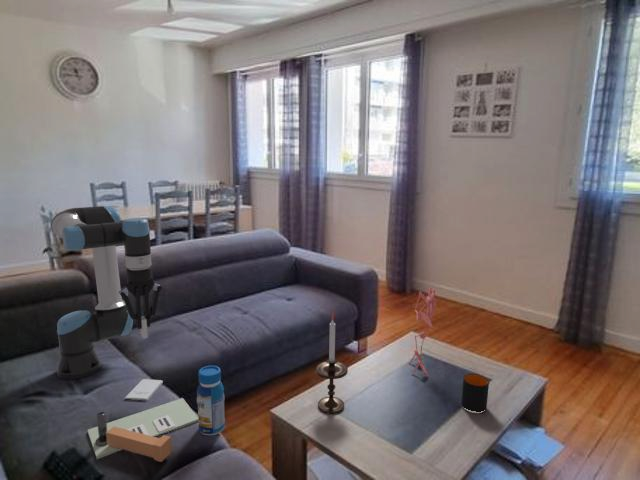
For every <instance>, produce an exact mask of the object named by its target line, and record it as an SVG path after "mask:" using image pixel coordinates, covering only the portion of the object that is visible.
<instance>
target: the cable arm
mask: <svg viewBox="0 0 640 480" xmlns="http://www.w3.org/2000/svg"><path fill="white" fill-rule="evenodd" d="M106 437H107V445H110V446H114V447H118V448H121V449H123V450H125V451H129V452H132V453H135V454H140V455H143V456H148V457H149V458H153V459H154V461H157V462H160V463H162V462H163V461H164V460H165V459H166V458H167V457H168V456H170V454H171V453H172V451H173V450H172V437H171V436H170V435H169V436H168V435H166V434H163V435H161V436H160V437H153V436H149V435H145V434H141V433H137V432H134V431H130V430H126V429H122V428H118V427H112V428H111V429H110V430H109V431H107V432H106Z"/></svg>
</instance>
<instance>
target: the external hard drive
mask: <svg viewBox="0 0 640 480" xmlns="http://www.w3.org/2000/svg"><path fill="white" fill-rule="evenodd" d="M163 382H164V381H163V380H161V379H147V378H146V379H143V378H142V379H141V380H140V382H138V383H137V385H136V386H134V388H133V389H132V390H130V392H129V393H128V394H127V395H126V396H125V397H124V400H125V399H132V400H131V401H138V400H146V401H145V402H147V400H148V401H149V400H150V398H151V397H152V396H153V395H154V394H155V393H156V391H157V390H158V389H159V388H160V387H161V385H162V384H163Z"/></svg>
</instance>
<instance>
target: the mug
mask: <svg viewBox="0 0 640 480" xmlns="http://www.w3.org/2000/svg"><path fill="white" fill-rule="evenodd" d="M462 380H463V381H462V389H461V391H462V393H461V403H460V405H461V404H462V406H463V407H464V408H466V409H468V410H471V411H476V412H481V411H484V410H486V411H487V407H488V398H489V396H488V395H489V385H490V380H489V379H487V377H486V376H484V375H480V374H476V373H468V374H465V375H464V376H463V379H462ZM462 406H461V407H462Z"/></svg>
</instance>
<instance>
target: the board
mask: <svg viewBox="0 0 640 480" xmlns="http://www.w3.org/2000/svg"><path fill="white" fill-rule="evenodd" d="M167 415H168V416H169V417H170V419H171V420H172V422H173V423H174V425H175V427H173V428H170V429H167V430H165V431H162V432H158V430H157V428H156V426H155V425H154V423H153V421H152V420H155V419H158V418H161V417H164V416H167ZM197 422H198V423H199V418H198V415H196V413H195V412H194V410H193V409H192V408H191V406H189V404H188V403H187V402H186V400H185V399H184V398H183V397H180V398H179V399H176V400H175V399H174V400H172V401H170V402H167V403H163V404H161V405H157V406H154V407H152V408H148V409H145V410H143V411H140V412H136V413H134V414H131V415H127V416H125V417H121V418H119V419H116V420H113V421H110V422H107V431H109V430H110V429H111V428H112V427H118V428H122V429H126V430H127V429H130V428H132V427H135V426H138V425H141V424H143V425H144V427H145V429H146V431H147V433H148V435H149V436H153V437H154V436H157V435H159V434H162V433H164V432H168V431H171V430H174V429H176V430H179V429H182V428H184V427H186V426H187V427H188V426H190V425H192V424H194V423H197ZM178 428H179V429H178ZM174 431H175V430H174ZM171 432H172V431H171ZM87 433H88V437H89V440H90V442H91V445H92V449H93V452H94V455H95V458H96V460H99V459H101V458H104V457H107V456H109V455H112V454H114V453H117V451H118V452H120V451H123V450H122V449H121V448H118V447H114V446H110V445H105V446H97V445H96V439H97V438H99V434H98V425H97V426H95V427H91V428H89V429H87ZM168 433H169V432H168Z"/></svg>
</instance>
